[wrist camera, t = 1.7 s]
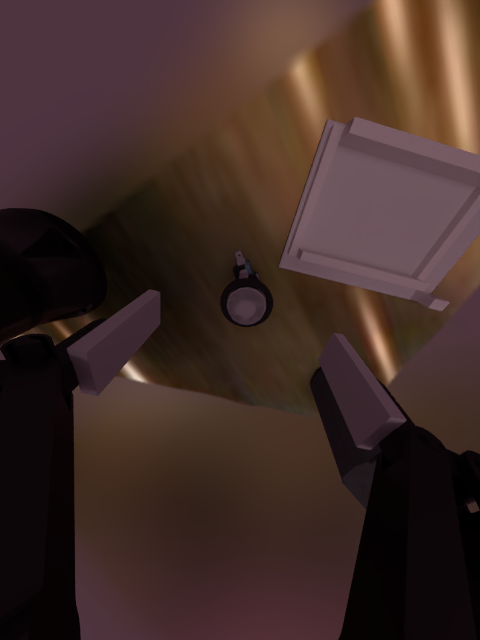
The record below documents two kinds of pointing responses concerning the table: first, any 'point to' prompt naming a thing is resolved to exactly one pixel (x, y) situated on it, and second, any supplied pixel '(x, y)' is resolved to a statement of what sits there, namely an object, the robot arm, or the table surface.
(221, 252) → the table surface
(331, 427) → the bottle
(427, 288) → the tray
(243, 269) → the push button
